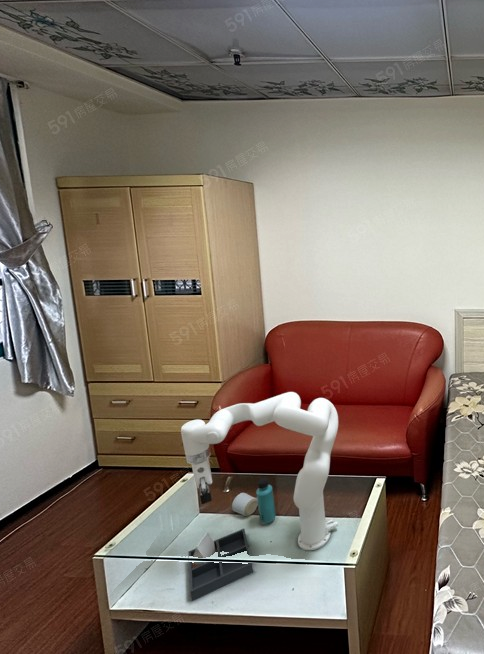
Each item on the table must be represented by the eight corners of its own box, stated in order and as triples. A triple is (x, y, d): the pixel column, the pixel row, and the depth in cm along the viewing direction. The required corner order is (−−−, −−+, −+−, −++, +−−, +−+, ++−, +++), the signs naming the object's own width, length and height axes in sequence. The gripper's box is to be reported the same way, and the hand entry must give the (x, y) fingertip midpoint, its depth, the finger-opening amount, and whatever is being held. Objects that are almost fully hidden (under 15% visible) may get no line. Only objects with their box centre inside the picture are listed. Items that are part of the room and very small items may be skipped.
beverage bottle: (279, 515, 178) (274, 475, 173) (271, 527, 171) (266, 486, 167) (265, 514, 178) (260, 474, 174) (256, 526, 172) (251, 485, 167)
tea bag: (215, 553, 158) (212, 532, 156) (205, 569, 151) (201, 547, 149) (206, 553, 158) (202, 532, 156) (195, 569, 152) (191, 547, 149)
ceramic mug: (246, 520, 175) (244, 505, 173) (232, 515, 178) (230, 499, 176) (265, 503, 184) (264, 489, 183) (252, 498, 187) (250, 484, 186)
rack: (245, 536, 167) (244, 528, 166) (253, 572, 151) (252, 563, 150) (189, 560, 156) (188, 551, 155) (191, 601, 141) (190, 591, 140)
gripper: (212, 462, 143) (219, 503, 147) (208, 438, 157) (214, 477, 161) (186, 470, 139) (195, 513, 143) (185, 445, 153) (192, 485, 157)
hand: (205, 494), depth 152 cm, fingers open, 9 cm apart
